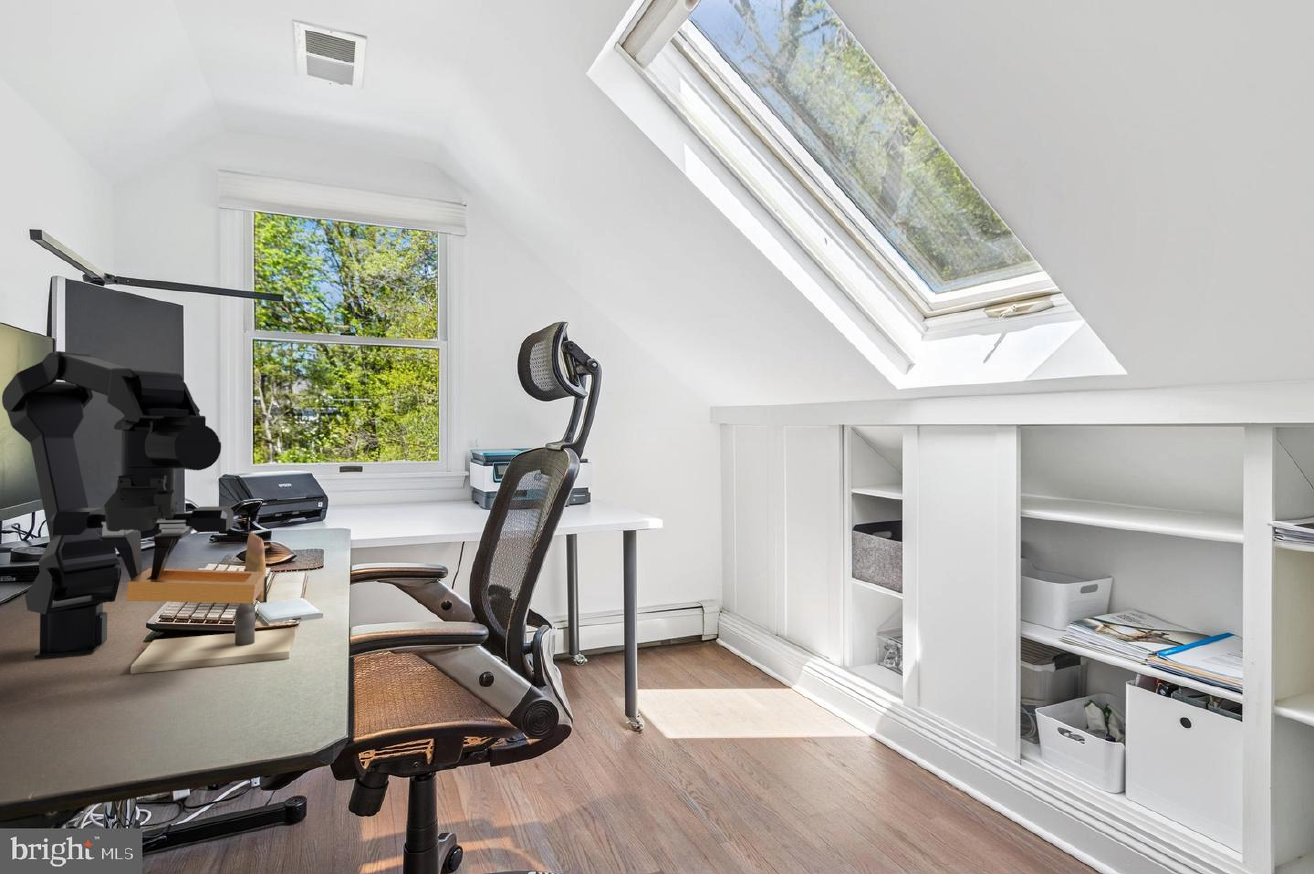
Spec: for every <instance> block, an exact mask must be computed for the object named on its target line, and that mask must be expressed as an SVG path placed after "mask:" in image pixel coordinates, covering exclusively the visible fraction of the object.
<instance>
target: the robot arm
mask: <svg viewBox="0 0 1314 874" xmlns="http://www.w3.org/2000/svg"><path fill="white" fill-rule="evenodd" d="M183 380H184V377H183V376H182V375H181V374H180V373H179V372H178V371H169V370H156V369H155V370H154V369H144V368H133V367H132V368H131V367H126V366H124V365H123V366H122V365H119V364H116V363H114V362H113V363H112V362H110V361H107V360H103V359H101V358H97V357H96V356H93V355H90V353H83V352H81V353H80V352H72V351H61V350H60V351H59V350H57V351H55V352H54V351H53V352H52V351H51V352H49V353H48V354H47V355H46V356H44V358H43V359H42V361H40V362H39V363H36V364H34V365H32V366H29V367H27V368H25V369H23V370H21V371H18V372H17V373H16V374H15V375H14V376H13V378H12V379H11V380H10V381H9V383H8V384H7V385H6V386H5V388H4V390H3V391H2V395H1V403H2V404H1V405H2V406H3V409H4V410H5V411H6V412H7V416H8V419H9V421H10V426H11V428H13V429H14V430H15V431H16V432H17V433H19V434H20V435H21V436H22V437H23V438H24V439H25V440H26V441H27V442H29V444H30V449H31V453H32V457H33V462H34V468H35V472H36V477H37V483H38V486H39V491H40V492H39V493H40V497H41V498H40V499H41V502H42V507H43V511H44V517H45V521H46V527H47V532H48V533H47V534H48V537H49V542H48V543H47V545H46V547H45V549H44V550H43V553H42V555H41V556H40V558H39V560H38V567H39V569H38V570H39V573H38V574H37V576H36V578H35V579H34V581H33V582H32V584H31V586H30V587H29V589H28V590H27V592H26V593H25V595H24V597H25V598H24V599H25V603H26V604H25V605H26V609H27V611H29V612H33V613H36V614H37V613H38V614H39V650H38V651H37V652H36V653H34V655H33V658H34V659H40V658H51V657H52V658H53V657H62V656H63V657H65V656H74V655H75V656H76V655H88V654H93V653H95V652H96V651H97V650H98V649H99V648H101V646H103V645H104V643H106V642H107V640H108V612H107V611H104V607H103V606H104V605H103V603H104V604H106V603H112V602H113V603H114V602H115V601H116V598H117V594H118V591H119V590H118V589H119V585H120V582H121V576H122V568H121V564H120V560H119V559H118V555H117V552H118V554H119V556H120V557H121V559H122V561H123V564H124V565H125V569H126V571H127V573H128V575H129V579H130V580H132V579H133V578H135V577H136V576H138V575H139V574H141V573H143V567H142V535H141V533H142V532H145V531H150V530H153V529H154V528H158V530H160V532H159V533H158V534H155V535H154V536H153V543H154V551H153V558H152V567H151V568H152V573H151V580H159V579H160V577H161V575H162V573H163V570H164V568H166V566H167V563H168V561H169V558H170V556H171V555H172V552H173V550H174V549H175V547H176V546H177V544H178V542H179V541H180V540H181V539H184V538H185V537H187V536H188V535H190V534H191V532H192V530H191V529H190V528H192V529H193V530H194V531H195V532H197V533H221V532H227V531H229V530H230V529H231V528H232V527H234V517H235V515H234V510H233V509H232V508H231V506H225V505H224V506H223V505H222V506H199V507H197V508H195V509H193V510H192V512H177V511H178V498H177V495H176V490H175V489H176V488H175V481H176V480H177V474H176V469H177V470H189V471H202V470H206V469H208V468H210V467H212V465H215V463H216V462H217V460H218V459H219V456H220V455H221V451H222V442H221V441H220V437H219V436H218V434H217V433H216V432H215V431H214V429H212V428H211V427H209V425H206V424H207V423H206V419H207V418H206V416H205V415H200V411H201V410H200V408H199V407H198V406H197V404H196V403H195V401H194V398H193V396H192V394H191V392H190V389H189V387H188V386H187V383H186V382H185V381H183ZM93 392H96V393H99V394H102V395H104V396H106V397H107V398H106V402H107V404H109V405H110V406H112V408H115V410H118V411H119V412H121V413H122V414H123V417H122V418H121V419H119V420H117V421H116V422H115V424H114V426H113V429H114V430H115V431H121V452H120V460H121V461H120V475H118V476H117V477H118V480H117V487H116V489H115V492H113V494H112V495H111V496H110V497H109V498H108V499H107V500H106V502H105V504H104V506H103V507H90V505H89V500H88V497H87V491H86V488H85V481H84V477H83V473H82V472H83V471H82V469H81V463H80V460H79V459H80V458H79V455H78V454H79V453H78V450H77V444H76V440H75V439H76V438H75V434H76V432H77V430H78V428H79V427H80V425H81V423H82V422H83V420H84V417H85V416H84V415H85V414H84V408H85V407H87V406H88V404H89V403H90V402H91V401H92V399H93V398H94V394H93ZM96 529H102V530H101V535H100V534H99V533H98V532H97V531H96ZM116 550H117V552H116Z"/></svg>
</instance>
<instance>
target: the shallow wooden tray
mask: <svg viewBox="0 0 1314 874" xmlns="http://www.w3.org/2000/svg"><path fill="white" fill-rule="evenodd" d="M151 573H152V567H149V568H147V569H146V570H144V571H142V573H141V574H139V575H138V576H136V577H135V578H133V579H132V580H131V579H130V580H128V584H127V589H126V591H127V592H126V599H125V600H126V602H156V603H157V602H161V603H164V602H165V603H166V602H167V603H168V602H169V603H172V602H173V603H206V604H207V603H213V604H214V603H217V604H244V603H249V604H251V603H252V604H253V603H254V601H255V600H256V598H257V597H258V595H259V594H260V592H261V591H262V589H263V584H264V575H265V572H250V571H244V570H243V571H242V570H222V569H221V570H220V569H219V570H218V569H194V568H192V569H190V568H189V569H188V568H187V569H186V568H166V567H165V568H164V570H163V573H162V575H161V577H160V579H159V580H151Z"/></svg>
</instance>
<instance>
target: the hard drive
mask: <svg viewBox="0 0 1314 874" xmlns="http://www.w3.org/2000/svg"><path fill="white" fill-rule="evenodd" d="M257 605H258V606H257V607H258V613H259V615H260V616H261V617H262V618H264V619H265V620H266V621H267V622H268V623H275V622H283V621H289V620H297V621H298V622H303V621H311V620H318V619H324V613H323V612H322V611H321V610H320V609H318V608H316V607H315V606H314V605H312V604H311V603H310V602H309V601H308V600H306V599H305V598H302V597H297V598H290V599H282V600H275V601H274V600H273V601H267V602H265V603H257ZM262 618H261V619H262Z"/></svg>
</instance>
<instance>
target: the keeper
mask: <svg viewBox="0 0 1314 874" xmlns="http://www.w3.org/2000/svg"><path fill="white" fill-rule="evenodd" d="M234 619H235V622H234V623H235V624H234V625H235V627H234V628H235V629H234V633H224V634H223V633H222V634H212V635H210V634H208V635H200V636H187V637H184V636H183V637H173V638H163V639H162V638H161V639H154V640H152V642H151V643H150V644H148V646H147V647H146V648H145V649H144V651H142V653H141V654H140V655H139V656H138V657H137V658H136V660H134V662H133V663H132V664H131V665H130V674H134V675H135V674H143V673H152V672H153V673H155V672H163V671H172V670H173V671H175V670H184V669H185V670H186V669H193V668H194V669H195V668H204V667H206V668H207V667H216V666H224V665H227V666H228V665H235V664H236V665H237V664H245V663H247V664H248V663H255V662H266V661H275V660H276V661H279V660H286V659H290V656H291V653H292V648H293V644H294V639H295V637H296V636H295V635H296V629H295V628H282V629H270V630H260V631H259V630H258V631H256V629H255V628H256V613H255V608H254V606H253V605H252V604H251V603H240V604H239V605H238V606H237V608H236V610H235V618H234Z"/></svg>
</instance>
